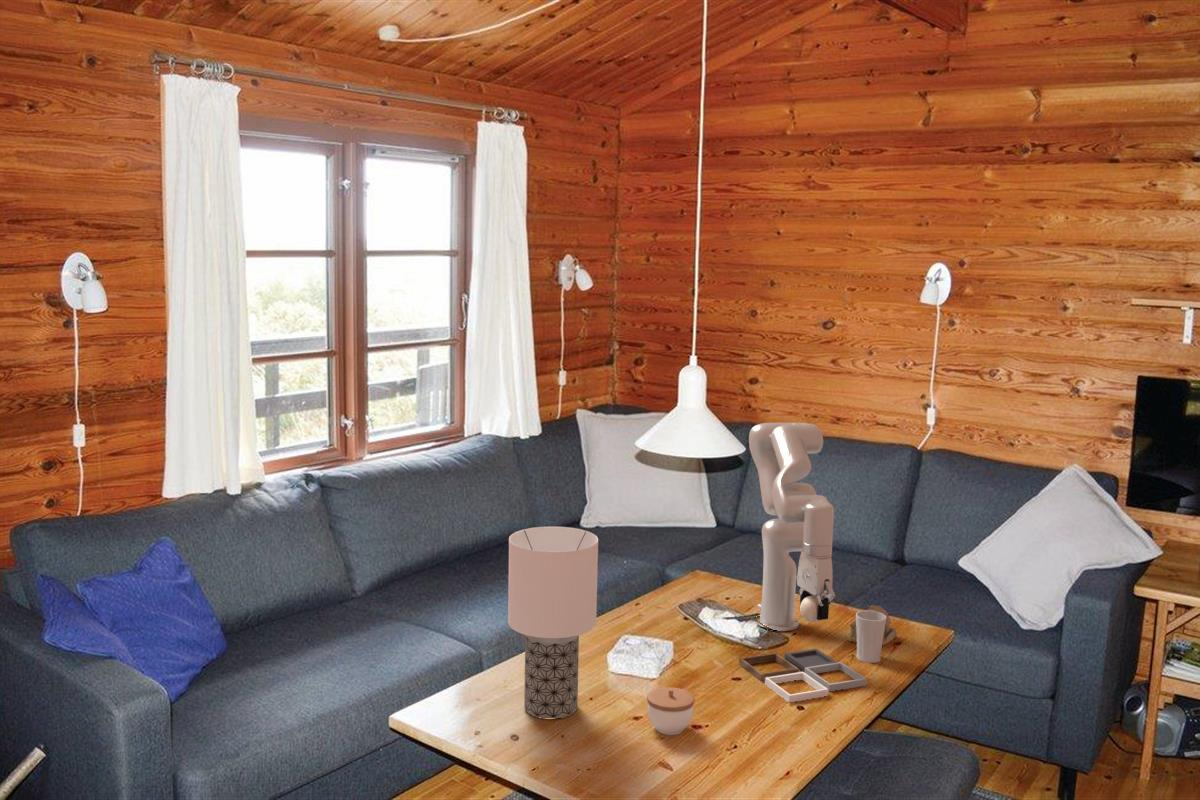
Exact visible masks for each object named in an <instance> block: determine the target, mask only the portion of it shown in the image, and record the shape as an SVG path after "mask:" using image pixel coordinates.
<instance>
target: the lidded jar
mask: <svg viewBox="0 0 1200 800" xmlns="http://www.w3.org/2000/svg"><path fill="white" fill-rule="evenodd" d="M646 700H647V701H646V702H647V703H646V704H647V714H648V718H649V721H650V723H651V724H652V726H653V727H654V728H655V729H656V731H657V732H658V733H660V734H662V735H667V736H674V735H679V734H681V733H682V732H683V731H684V730H685V729H686V728H687V727H688V726H689V724H690V723H691V721H692V718H693V714H694V705H695V697H694V695H693V694H692V693H691V691H690V692H689V691H688V690H686V689H683V688H679V687H671V686H668V687H667V686H665V687H657V688H654V689H652V690H650V691H649V692H648V694H647V696H646Z"/></svg>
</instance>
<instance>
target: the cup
mask: <svg viewBox="0 0 1200 800" xmlns="http://www.w3.org/2000/svg"><path fill="white" fill-rule="evenodd" d="M855 620H856V627H857V643H856V656H855V657H857V658H856V659H857V660H858V659H859V660H858V661H860V662H863V663H869V664H870V663H871V664H872V663H873V664H874V663H879V662H880V661H881V656H882V647H883V646H882V642H883V635H884V629H885V623H886V616H885V615H884V614H882V613H880V612H876V611H869V610H867V609H865V610H859V611H857V612H856V613H855Z"/></svg>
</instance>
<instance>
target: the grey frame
mask: <svg viewBox="0 0 1200 800" xmlns="http://www.w3.org/2000/svg"><path fill="white" fill-rule="evenodd" d="M837 662H838V663H831V664H825V665H819V666H812V667H806V668H805V669H804V673H806V674H807V675H808V676H810V677H811V678H813V679H814V680H816V681H817V682H819V683H820V684H821V685H823V686H824V687H826V688H827V689H828V692H829V691H831V692H836V691H835V690H837V691H842V690H841V689H843V690H848V689H853V688H855V689H856V688H860V687H864V686H865V687H866V686H867V683H868V682H867V681H868V679H867V678H866V677H865V676H863V675H862V674H860V673H859V672H857V671H856V670H854V669H852V668H851V667H849V666H848V665H846V664H845V663H844V662H842V661H840V662H839V661H837ZM834 671H841V672H843V674H846V675H847V676H849V677H851V678H852V679H851V680H844V681H838V682H832V683H830V682H829V681H827V680H825V679H824V678H823V677H822V676H820V675H819V674H822V673H828V672H834Z"/></svg>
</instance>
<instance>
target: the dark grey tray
mask: <svg viewBox="0 0 1200 800" xmlns="http://www.w3.org/2000/svg"><path fill="white" fill-rule="evenodd" d="M783 658H784V659H785V660H787V661H789V662H790V663H791V664H793V665H794V666H796V667H797V668H798V669H799V671H800V672H804V669H805V668H806V667H812V666H819V665H825V664H831V663H838V662H839V661H837V660H835V659H833V658H832V657H830V656H829V655H828V654H826V653H824V652H822V651H821V650H819V649H818V648H811V649H805V650H804V649H803V650H798V651H792V652H790V651H789V652H785V653H784V657H783Z"/></svg>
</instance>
